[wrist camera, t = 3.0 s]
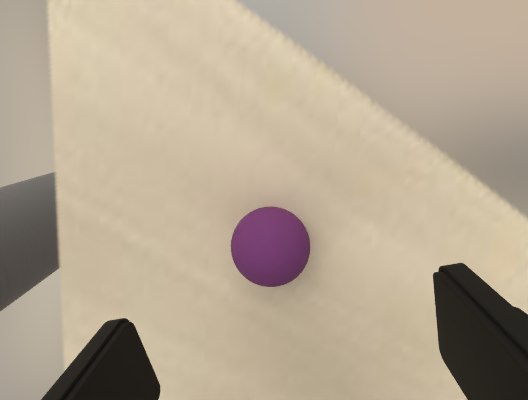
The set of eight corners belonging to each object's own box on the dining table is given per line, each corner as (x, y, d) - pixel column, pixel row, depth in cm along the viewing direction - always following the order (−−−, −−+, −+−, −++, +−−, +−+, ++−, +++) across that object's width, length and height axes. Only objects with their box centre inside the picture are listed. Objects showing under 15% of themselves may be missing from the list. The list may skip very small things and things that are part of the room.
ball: (222, 228, 17) (206, 262, 13) (273, 182, 16) (271, 205, 12) (269, 274, 18) (267, 318, 14) (320, 232, 17) (333, 268, 13)
